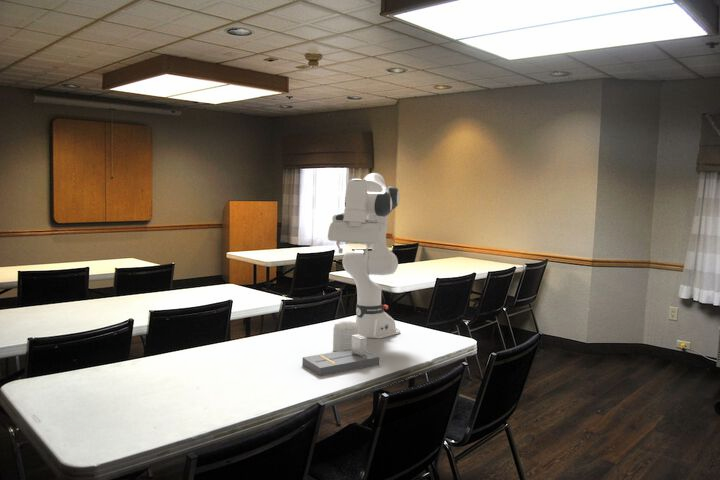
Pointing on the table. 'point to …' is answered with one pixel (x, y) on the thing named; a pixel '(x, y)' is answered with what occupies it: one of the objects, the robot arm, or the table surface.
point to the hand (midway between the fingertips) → (352, 254)
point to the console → (339, 362)
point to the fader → (359, 344)
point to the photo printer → (344, 335)
